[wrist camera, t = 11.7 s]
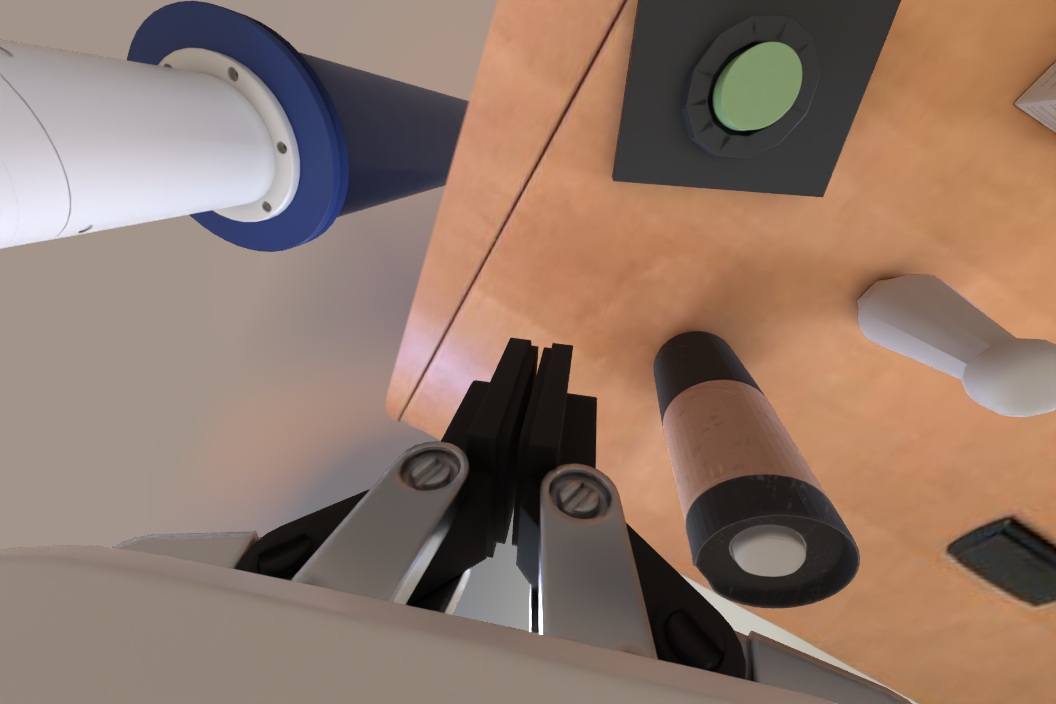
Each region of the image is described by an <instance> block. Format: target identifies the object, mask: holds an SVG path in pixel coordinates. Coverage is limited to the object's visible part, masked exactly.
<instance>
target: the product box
mask: <svg viewBox="0 0 1056 704" xmlns="http://www.w3.org/2000/svg"><path fill="white" fill-rule="evenodd" d="M1015 105H1016V106H1017V107H1019V108H1020V109H1022V110H1023V111H1024V112H1026V113H1027V114H1029V115H1030V116H1032V117H1033V118H1035V119H1036V120H1038V121H1039V122H1041V123H1042V124H1043V125H1045V126H1046V127H1048V128H1049V129H1051V130H1052V131H1054V132H1055V133H1056V62H1055V63H1054V64H1053V65H1052V66H1050V67H1049V68H1048V69H1047V70H1046V72H1045V73H1044V74H1043V75H1041V76H1040V77H1039V78H1038V79H1037V80H1036V81H1035V82H1034V83H1033V84H1032V85H1031V86H1030V87H1029V88H1028V89H1027V90H1026V91H1025V92H1024V93H1023V94H1022V95H1021V96H1020V97H1019V99H1018V100H1017V101H1016V102H1015Z"/></svg>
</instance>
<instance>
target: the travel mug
mask: <svg viewBox="0 0 1056 704" xmlns="http://www.w3.org/2000/svg"><path fill="white" fill-rule="evenodd" d="M654 376H655V382H656V389H657V395H658V401H659V407H660V413H661V419H662V425H663V430H664V435H665V439H666V444H667V448H668V452H669V457H670V461H671V465H672V470H673V474H674V478H675V483H676V487H677V491H678V496H679V500H680V504H681V509H682V513H683V517H684V522H685V526H686V530H687V535H688V539H689V544H690V548H691V553H692V560H693V565H694V566H696V567H697V568H698V569H699V571H700V572H701V573H702V574H703V576H704V577H705V578H706V579H707V581H708V582H709V584H710V585H711V587H712V589H713V590H714V591H715V592H716V593H717V594H718V595H720V596H721V597H723V598H726V599H728V600H730V601H733V602H736V603H740V604H743V605H748V606H753V607H761V608H791V607H798V606H804V605H808V604H812V603H815V602H818V601H821V600H824V599H826V598H828V597H830V596H832V595H834V594H836V593H838V592H839V591H841V590H842V589H843V588H845V587H846V586H847V585H848V584H849V583H850V582H851V581H852V579H853V578H854V577H855V575H856V573H857V571H858V568H859V565H860V555H859V550H858V547H857V545H856V543H855V541H854V539H853V537H852V535H851V534H850V532H849V530H848V529H847V527H846V525H845V524H844V522H843V521H842V519H841V517H840V516H839V514H838V513H837V511H836V509H835V508H834V506H833V504H832V503H831V501H830V500H829V498H828V496H827V495H826V493H825V491H824V490H823V488H822V487H821V485H820V483H819V482H818V480H817V479H816V477H815V475H814V474H813V472H812V470H811V469H810V467H809V466H808V464H807V462H806V461H805V459H804V457H803V456H802V454H801V453H800V451H799V449H798V448H797V446H796V445H795V443H794V441H793V440H792V438H791V436H790V435H789V433H788V432H787V430H786V428H785V427H784V425H783V423H782V422H781V420H780V419H779V417H778V415H777V414H776V412H775V410H774V409H773V407H772V406H771V404H770V402H769V401H768V400H767V398H766V397H765V395H764V394H763V392H762V391H761V390H760V388H759V387H758V385H757V384H756V383H755V381H754V380H753V378H752V377H751V375H750V374H749V373H748V371H747V370H746V368H745V367H744V366H743V364H742V363H741V361H740V360H739V359H738V357H737V356H736V354H735V353H734V352H733V350H732V349H731V348H730V346H729V345H728V344H727V343H726V342H725V341H724V340H723V339H721V338H720V337H718V336H716V335H713V334H711V333H707V332H688V333H684V334H681V335H678V336H676V337H674V338H672V339H671V340H669V341H668V342H667V343H665V344H664V345H663V346H662V348H661V349H660V350H659V352H658V354H657V356H656V358H655V362H654Z"/></svg>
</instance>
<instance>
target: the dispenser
mask: <svg viewBox="0 0 1056 704" xmlns="http://www.w3.org/2000/svg"><path fill="white" fill-rule="evenodd" d="M900 2H901V0H638V5H637V12H636V18H635V25H634V32H633V39H632V45H631V52H630V59H629V66H628V73H627V79H626V86H625V93H624V100H623V106H622V113H621V120H620V127H619V133H618V140H617V147H616V154H615V160H614V167H613V174H612V178H613V181H620V182H632V183H645V184H658V185H671V186H684V187H697V188H710V189H723V190H736V191H749V192H762V193H775V194H788V195H801V196H814V197H823V196H824V194H825V191H826V189H827V186H828V183H829V181H830V178H831V176H832V173H833V171H834V168H835V166H836V163H837V161H838V158H839V156H840V153H841V151H842V148H843V146H844V143H845V141H846V138H847V136H848V133H849V131H850V128H851V126H852V123H853V120H854V118H855V115H856V113H857V110H858V108H859V105H860V103H861V100H862V98H863V95H864V93H865V90H866V88H867V85H868V83H869V80H870V78H871V75H872V73H873V70H874V68H875V65H876V62H877V60H878V57H879V55H880V52H881V50H882V47H883V45H884V42H885V40H886V37H887V35H888V32H889V30H890V27H891V25H892V22H893V20H894V17H895V15H896V12H897V10H898V7H899V4H900ZM765 42H780V43H783V44H786V45H788V46H789V47H791V48H792V49H793V50H794V51H795V52H796V54H797V55H798V57H799V59H800V62H801V66H802V82H801V86H800V90H799V93H798V95H797V97H796V99H795V101H794V103H793V104H792V106H791V107H790V108H789V110H788V111H787V112H786V113H785V114H784V115H783V116H782V117H781V118H780V119H778V120H777V121H776V122H774V123H772V124H771V125H769V126H766V127H764V128H760V129H755V130H739V131H738V130H732V129H729V128H727V127H725V126H724V125H723V124H721V123H720V122H719V120H718V119H717V117H716V115H715V113H714V110H713V103H712V97H713V90H714V87H715V84H716V81H717V79H718V77H719V75H720V74H721V72H722V71H723V69H724V68H725V67H726V66H727V65H728V64H729V63H730V62H731V61H732V60H733V59H734V58H735V57H737V56H739V55H740V54H742V53H743V52H745V51H747V50H748V49H750V48H752V47H754V46H756V45H758V44H761V43H765Z"/></svg>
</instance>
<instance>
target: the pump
mask: <svg viewBox="0 0 1056 704" xmlns="http://www.w3.org/2000/svg"><path fill="white" fill-rule="evenodd" d="M801 82H802V66H801V62H800V59H799V57H798V55H797V54H796V52H795V51H794V50H793V49H792V48H791V47H789V46H788V45H786V44H783V43H780V42H765V43H761V44H758V45H756V46H754V47H752V48H750V49H748V50H747V51H745V52H743V53H742V54H740V55H739V56H737V57H735V58H734V59H733V60H732V61H731V62H730V63H729V64H728V65H727V66H726V67H725V68H724V69H723V71H722V72H721V74H720V75H719V77H718V79H717V81H716V84H715V87H714V90H713V97H712V103H713V110H714V113H715V115H716V117H717V119H718V120H719V122H720V123H721V124H723V125H724V126H725V127H727V128H729V129H732V130H738V131H739V130H755V129H760V128H764V127H766V126H769V125H771V124H772V123H774V122H776V121H777V120H778V119H780V118H781V117H782V116H783V115H784V114H785V113H786V112H787V111H788V110H789V108H790V107H791V106H792V104H793V103H794V101H795V99H796V97H797V95H798V93H799V90H800V86H801Z"/></svg>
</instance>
